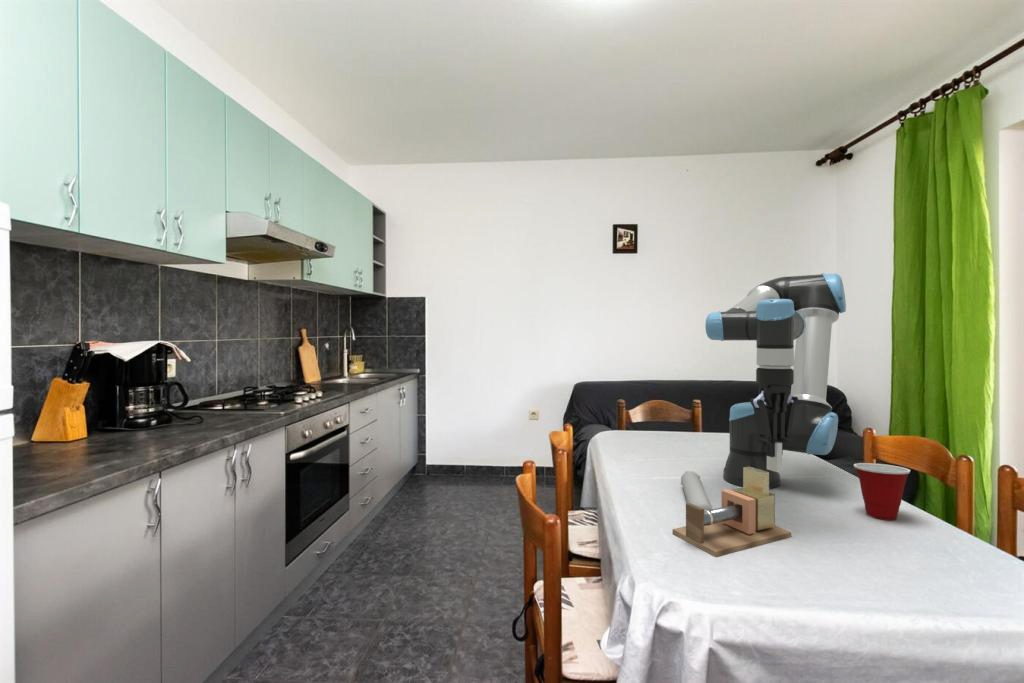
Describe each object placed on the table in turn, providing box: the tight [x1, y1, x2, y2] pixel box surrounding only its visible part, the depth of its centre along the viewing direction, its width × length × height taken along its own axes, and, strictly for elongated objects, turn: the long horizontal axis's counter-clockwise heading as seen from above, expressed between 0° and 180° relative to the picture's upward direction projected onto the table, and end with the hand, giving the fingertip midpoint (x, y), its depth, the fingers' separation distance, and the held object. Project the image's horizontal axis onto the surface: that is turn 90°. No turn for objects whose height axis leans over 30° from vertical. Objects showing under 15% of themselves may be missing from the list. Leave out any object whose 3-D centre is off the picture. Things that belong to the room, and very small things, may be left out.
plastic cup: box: [853, 462, 911, 521], centre depth 115 cm, size 11×11×12 cm
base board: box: [672, 491, 792, 558], centre depth 105 cm, size 22×12×8 cm, turn 114°
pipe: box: [704, 504, 742, 526], centre depth 105 cm, size 21×3×3 cm, turn 114°
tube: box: [680, 470, 713, 510], centre depth 124 cm, size 5×5×25 cm
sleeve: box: [731, 466, 774, 530], centre depth 107 cm, size 5×7×12 cm
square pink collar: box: [721, 488, 756, 534], centre depth 106 cm, size 2×7×7 cm, turn 24°
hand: (774, 470), depth 110 cm, fingers closed
